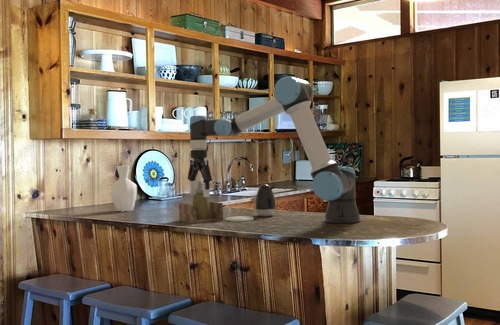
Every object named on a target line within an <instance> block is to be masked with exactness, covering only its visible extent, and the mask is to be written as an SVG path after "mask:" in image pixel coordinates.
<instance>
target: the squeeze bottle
mask: <svg viewBox="0 0 500 325" xmlns="http://www.w3.org/2000/svg"><path fill="white" fill-rule="evenodd" d="M195 193H196V194H194V195H192V205H196V220H204V219H209V218H208V217H209V213H210V210H209V203H208V201H209V197H204V196H203V182H202V181H201V180H200V181H198V182H197V186H196V189H195Z"/></svg>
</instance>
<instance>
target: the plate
mask: <svg viewBox="0 0 500 325" xmlns="http://www.w3.org/2000/svg"><path fill="white" fill-rule="evenodd" d="M229 221H230V223H233V222H234V223H235V222H236V223H241V222H243V223H244V222H250V221H255V217H253V216H249V215H247V216H243V215H242V216H241V215H239V216H228V217H225V222H229Z"/></svg>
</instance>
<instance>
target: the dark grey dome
mask: <svg viewBox="0 0 500 325" xmlns="http://www.w3.org/2000/svg"><path fill="white" fill-rule="evenodd" d="M275 188H276V189H277V186H276V185H273V186H270V185H269V184H267V183H263V184H261V185H260V186H259V188H258V189H257V191H256V192H257V193H256V196H255V200H254V209H255V212H256V213H257V215H258V216H260V217H271V216H273V215H274V214H275V212H276V209H277V202H276V198H275V195H274V191H273V189H275Z"/></svg>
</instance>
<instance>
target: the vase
mask: <svg viewBox="0 0 500 325" xmlns="http://www.w3.org/2000/svg"><path fill="white" fill-rule="evenodd" d="M115 167H116V170H117V173H118V176H119V179H117V180H116V181H115V182H114V183H112V185H111V186H110V192H111V193H110V194H111V197H112V198H111V199H112V201H113V204H114V207H115V208H116V210H117V211H116V212H118V211H121V212H120V213H124V212H125V211H127V212H133V211H134V209H135V204H136V201H137V195H138V185H137V184H136V183H135V182H134V181H132V180H130V178H128V176H129V171H130V167H131V165H116V166H115Z"/></svg>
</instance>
